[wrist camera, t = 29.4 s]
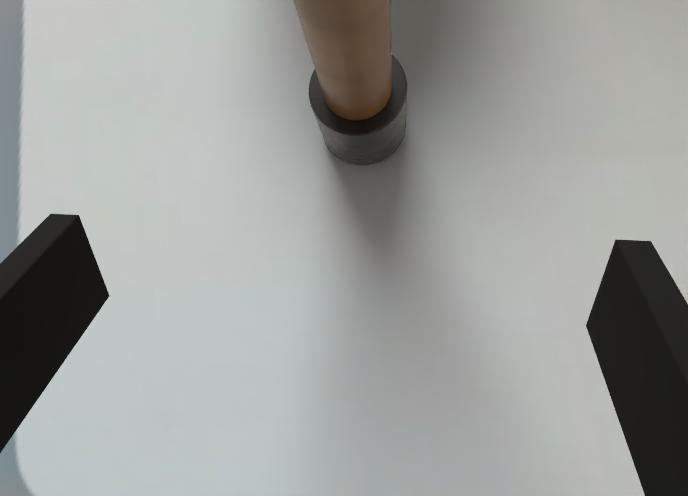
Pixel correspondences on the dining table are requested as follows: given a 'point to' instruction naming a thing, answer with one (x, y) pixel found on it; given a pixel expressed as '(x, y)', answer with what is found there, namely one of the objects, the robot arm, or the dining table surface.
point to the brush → (355, 77)
